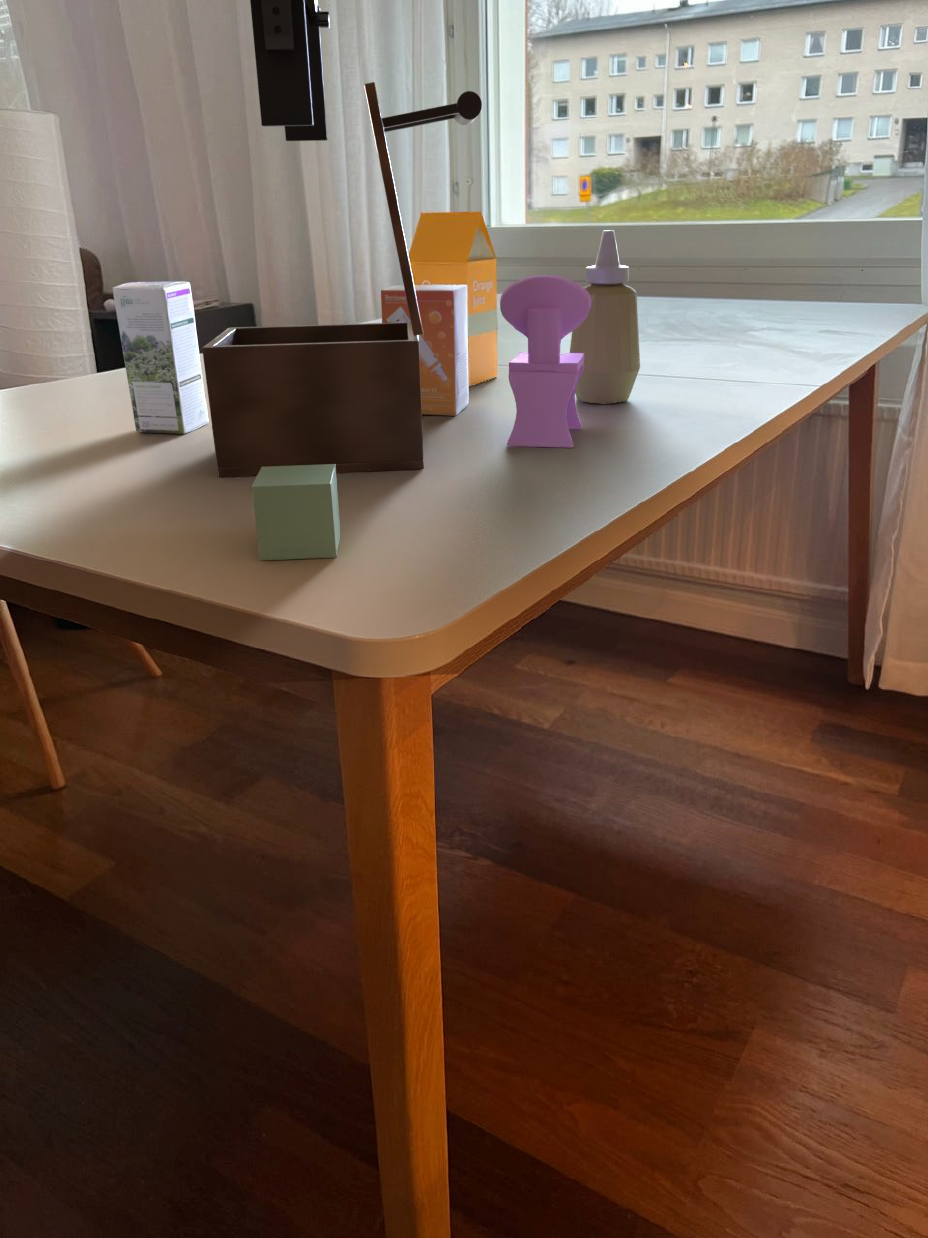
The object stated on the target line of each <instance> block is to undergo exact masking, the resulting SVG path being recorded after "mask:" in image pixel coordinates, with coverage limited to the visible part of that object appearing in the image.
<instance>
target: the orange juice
mask: <svg viewBox="0 0 928 1238" xmlns="http://www.w3.org/2000/svg"><path fill="white" fill-rule="evenodd" d="M408 257H409V263H410V268H411V273H412V278H413V283H414V285H467V320H468V384H469V386H470V385H473V384H476V385H479V384H481V383H480V382H482V383H484V382H483V381H485V382H487V381H486V380H488V379H491V378H494V377H496V376H498V373H499V371H498V368H499V367H498V366H499V365H498V324H499V322H498V319H499V318H498V316H499V315H498V281H497V280H498V278H497V277H498V273H497V271H498V267H497V265H498V263H497V261H498V259H497V256H496V253H495V250H494V247H493V243H492V241H491V237H490V234H489V231H488V229H487V225H486V222H485V220H484V217H483V213H482V211H453V212H452V211H446V212H445V211H443V212H441V211H439V212H437V211H436V212H420V215H419V219H418V222H417V225H416V228H415V231H414V235H413V239H412V242H411V245H410V249H409V252H408ZM498 377H499V376H498ZM494 379H495V378H494ZM491 380H492V379H491ZM488 381H489V380H488ZM478 383H479V384H478ZM473 386H474V385H473ZM470 387H471V386H470Z"/></svg>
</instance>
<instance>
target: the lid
mask: <svg viewBox="0 0 928 1238" xmlns="http://www.w3.org/2000/svg"><path fill="white" fill-rule="evenodd" d="M363 86H364V91H365V97H366V101H367V106H368V111H369V117H370V121H371V128H372V132H373V136H374V141H375V148H376V152H377V157H378V162H379V168H380V172H381V177H382V182H383V187H384V193H385V197H386V203H387V208H388V213H389V218H390V222H391V229H392V233H393V238H394V243H395V248H396V249H395V250H396V252H397V254H396V255H397V259H398V263H399V270H400V274H401V279H402V285H404V289H405V294H406V299H407V304H408V309H409V314H410V320H411V325H412V330H413V335H414V336H416V335H421V334H423V330H422V325H421V319H420V314H419V309H418V304H417V299H416V294H415V288H414V283H413V278H412V273H411V268H410V263H409V257H408V255H409V252H408V248H407V242H406V237H405V233H404V226H403V222H402V215H401V212H400V206H399V201H398V196H397V192H396V191H397V190H396V186H395V180H394V174H393V171H392V164H391V159H390V154H389V149H388V145H387V139H386V133H390V132H394V131H399V130H404V129H409V128H414V127H419V126H424V125H428V124H429V125H430V124H434V123H439V122H444V121H449V120H453V119H454V120H455V122H456V123H457V124H459V125H461V126H468V125H470V124H472V123H473V122H474V121H475V120H476V119H477V118H478V117H479V116H480V114H481V113H482V110H483V101H482V98H481V97H480V95H479V94H478V93H476V92H475V91H473V90H466V91H464V92H462V93H461V94H460V95H459V96H458V98H457V100H456V101H455V103H450V104H445V105H440V106H436V107H429V108H425V109H421V110H415V111H411V112H405V113H400V114H395V115H391V116H386V117H382V113H381V109H380V103H379V98H378V93H377V88H376V83H375V82H374V81H372V82H371V81H370V82H367V83H364V84H363Z"/></svg>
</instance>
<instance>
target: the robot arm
mask: <svg viewBox="0 0 928 1238" xmlns="http://www.w3.org/2000/svg"><path fill="white" fill-rule="evenodd" d="M249 2H250V3H249V4H250V14H251V25H252V35H253V36H252V37H253V45H254V47H253V48H254V57H255V68H256V79H257V89H258V102H259V111H260V124H261V126H262V127H284V134H285V135H284V136H285V141H286V142H314V141H315V142H319V141H321V142H322V141H326V142H327V141H328V127H327V113H326V100H325V99H326V98H325V83H324V70H323V69H324V67H323V56H322V54H323V53H322V41H321V29H330V28H331V26H330V24H331V23H330V12H329V11H321V6H320V5H319V2H318V0H249Z"/></svg>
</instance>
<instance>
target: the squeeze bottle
mask: <svg viewBox="0 0 928 1238" xmlns="http://www.w3.org/2000/svg"><path fill="white" fill-rule="evenodd" d="M617 245H618V244H617V240H616V233H615V230H614V229H606V230H605V229H604V230H602V233H601V238H600V242H599V247H598V251H597V255H596V259H595V264H594V265H590V266H586V267H585V277H584V281H585V283H586V284H588V285H586V286H582V287H583V288H584V289H586V290H587V292H588V293H589V295H590V298H591V307H590V310H589V313H588V316H587V317H586V319H585V320H584V321H583V322H582V323H581V324H580V325H579V326H578V327H577V329H576V330H574V331H572V332H571V339H570V346H569V353H584V369H583V372H582V375H581V377H580V379H579V381H578V384H577V387H576V391H575V398H576V399H577V400H578V401H580V402H583V403H587V402H589V403H588V404H593V403H613V404H616V403H615V402H619V403H621V402H620V401H623V402H625V401H624V400H626V401H628V400H629V399H628V398H630V396H631V393H632V390H633V388H634V385H635V383H636V380H637V377H638V374H639V371H640V369H641V359H640V358H641V357H640V356H641V355H640V337H639V318H638V295H637V291H636V289H634V288H633V287H631V286H629V285H626V284H625V283H628V282H629V279H630V266H628V265H623V264H621V263H620V258H619V252H618V246H617ZM627 399H628V400H627Z"/></svg>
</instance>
